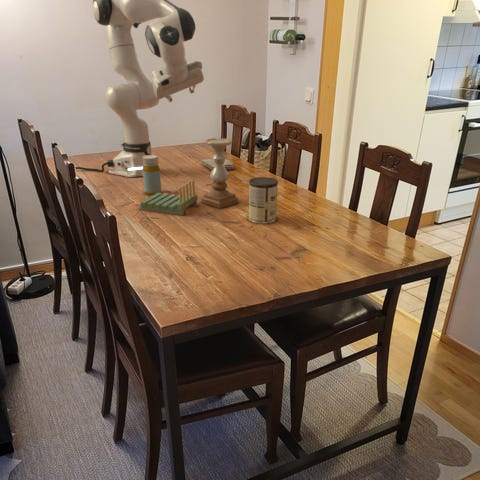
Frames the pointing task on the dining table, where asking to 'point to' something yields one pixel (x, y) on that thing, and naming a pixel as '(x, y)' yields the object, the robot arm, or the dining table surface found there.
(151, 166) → the bottle
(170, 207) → the rack
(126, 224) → the dining table surface
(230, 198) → the candle holder
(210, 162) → the washcloth
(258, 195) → the coffee can
